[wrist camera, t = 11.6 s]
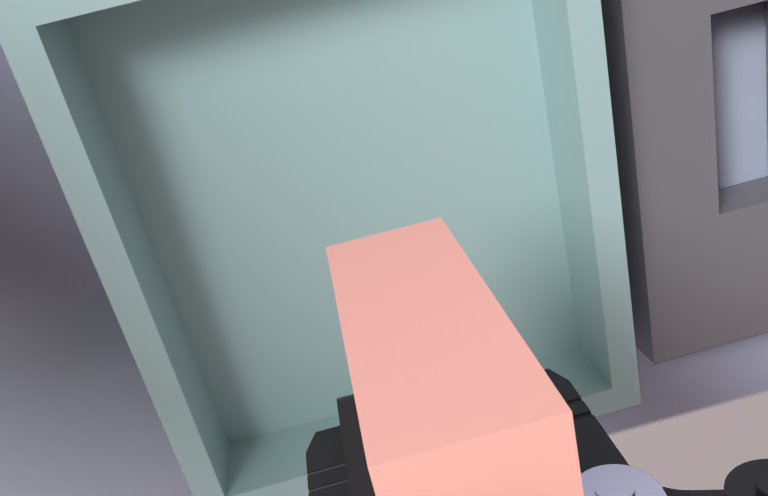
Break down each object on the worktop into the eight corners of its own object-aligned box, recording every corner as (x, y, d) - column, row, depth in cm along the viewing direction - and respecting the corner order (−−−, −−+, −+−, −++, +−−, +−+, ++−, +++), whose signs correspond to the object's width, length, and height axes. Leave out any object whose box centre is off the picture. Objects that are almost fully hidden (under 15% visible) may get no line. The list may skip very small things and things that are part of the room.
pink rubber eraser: (325, 247, 15) (367, 467, 8) (440, 217, 15) (572, 411, 8) (388, 480, 17) (460, 797, 10) (488, 453, 17) (620, 750, 11)
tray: (27, -11, 22) (-21, -5, 18) (534, -135, 23) (585, -153, 19) (213, 455, 29) (205, 528, 25) (595, 349, 30) (641, 403, 26)
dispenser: (579, -147, 23) (617, -159, 20) (847, -212, 23) (917, -232, 21) (630, 339, 30) (663, 373, 27) (835, 281, 30) (885, 310, 28)
